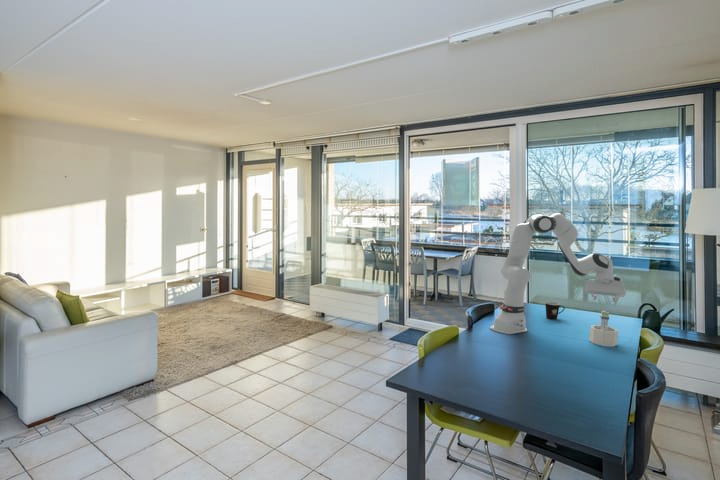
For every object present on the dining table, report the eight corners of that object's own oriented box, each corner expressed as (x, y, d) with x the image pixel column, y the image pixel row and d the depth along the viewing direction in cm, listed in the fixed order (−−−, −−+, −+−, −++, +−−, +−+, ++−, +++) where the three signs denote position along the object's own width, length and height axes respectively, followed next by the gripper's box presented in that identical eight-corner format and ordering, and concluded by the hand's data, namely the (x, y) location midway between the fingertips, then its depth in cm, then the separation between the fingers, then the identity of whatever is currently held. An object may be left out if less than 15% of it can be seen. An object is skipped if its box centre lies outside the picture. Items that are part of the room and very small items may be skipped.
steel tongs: (597, 341, 214) (599, 312, 213) (596, 338, 219) (598, 310, 218) (609, 342, 212) (611, 313, 210) (608, 339, 217) (610, 311, 215)
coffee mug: (544, 318, 261) (544, 304, 260) (544, 315, 268) (545, 301, 267) (563, 321, 255) (564, 306, 254) (564, 318, 263) (564, 303, 262)
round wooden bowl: (610, 348, 206) (611, 333, 206) (586, 341, 216) (587, 327, 215) (620, 343, 214) (621, 329, 213) (596, 337, 223) (597, 323, 223)
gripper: (584, 275, 233) (583, 295, 225) (625, 279, 223) (626, 299, 215) (583, 282, 237) (583, 301, 229) (624, 285, 227) (625, 305, 219)
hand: (604, 300), depth 222 cm, fingers open, 8 cm apart
